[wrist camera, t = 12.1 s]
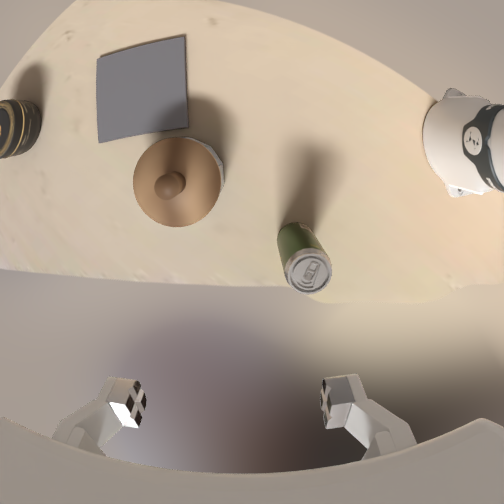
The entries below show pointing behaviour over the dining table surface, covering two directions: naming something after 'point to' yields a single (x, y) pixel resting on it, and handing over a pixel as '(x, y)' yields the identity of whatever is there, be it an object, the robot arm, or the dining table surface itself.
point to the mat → (142, 90)
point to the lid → (177, 182)
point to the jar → (18, 127)
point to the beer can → (303, 259)
